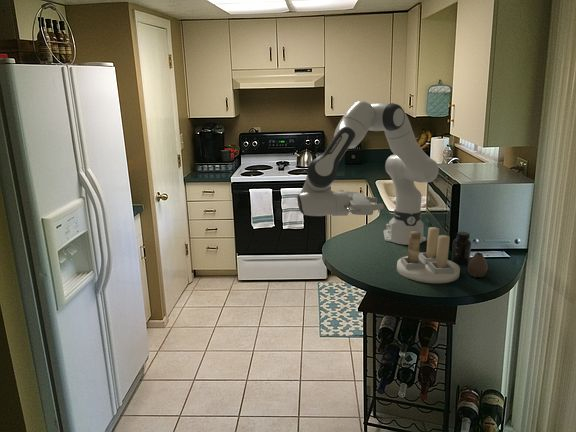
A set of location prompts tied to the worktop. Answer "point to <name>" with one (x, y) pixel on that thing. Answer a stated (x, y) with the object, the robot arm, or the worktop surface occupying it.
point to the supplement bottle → (461, 248)
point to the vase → (477, 265)
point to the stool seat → (431, 262)
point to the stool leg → (413, 247)
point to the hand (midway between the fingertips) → (380, 203)
